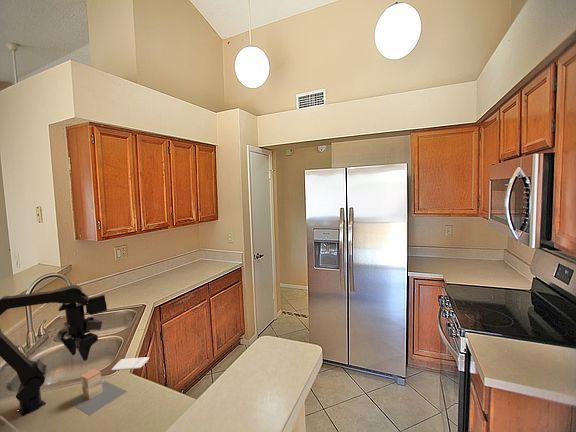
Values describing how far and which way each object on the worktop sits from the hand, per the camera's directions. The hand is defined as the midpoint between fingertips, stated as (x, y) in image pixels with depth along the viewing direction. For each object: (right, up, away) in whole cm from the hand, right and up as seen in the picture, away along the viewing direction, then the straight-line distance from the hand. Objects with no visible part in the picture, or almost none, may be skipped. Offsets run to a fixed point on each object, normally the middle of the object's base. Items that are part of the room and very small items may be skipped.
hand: (79, 357), depth 109 cm
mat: (+10, -13, -5) cm, 17 cm away
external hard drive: (+11, -12, +16) cm, 23 cm away
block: (+7, -12, -3) cm, 15 cm away
